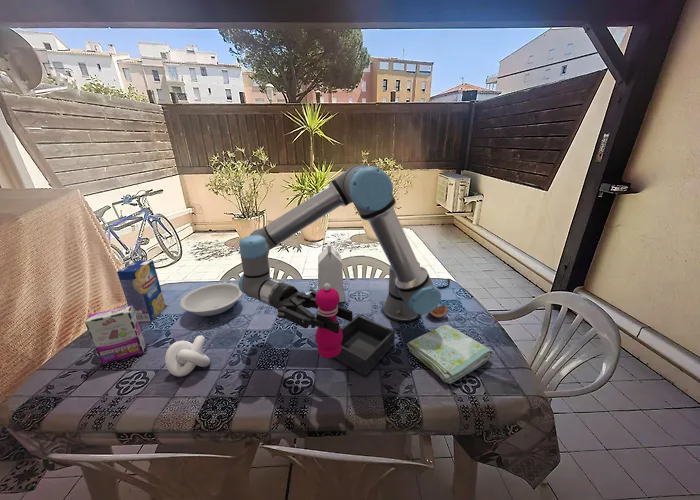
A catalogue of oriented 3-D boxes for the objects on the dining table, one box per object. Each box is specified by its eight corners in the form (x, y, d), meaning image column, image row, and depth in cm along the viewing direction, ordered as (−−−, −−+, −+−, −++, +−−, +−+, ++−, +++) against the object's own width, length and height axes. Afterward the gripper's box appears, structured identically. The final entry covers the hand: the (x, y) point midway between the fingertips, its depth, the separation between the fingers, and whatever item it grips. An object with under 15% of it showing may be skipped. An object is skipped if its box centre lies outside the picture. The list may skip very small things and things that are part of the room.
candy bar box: (146, 344, 95) (133, 304, 90) (143, 353, 91) (130, 312, 86) (105, 355, 91) (89, 313, 85) (101, 365, 86) (83, 321, 81)
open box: (358, 328, 104) (358, 315, 102) (394, 345, 95) (394, 330, 93) (327, 354, 91) (326, 339, 89) (365, 376, 82) (365, 360, 80)
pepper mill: (339, 361, 69) (337, 292, 62) (312, 357, 70) (307, 289, 63) (345, 342, 75) (344, 278, 68) (320, 339, 77) (317, 276, 70)
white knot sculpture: (183, 353, 91) (177, 331, 88) (220, 351, 92) (215, 329, 89) (164, 379, 81) (156, 355, 78) (205, 377, 81) (199, 353, 78)
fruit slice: (443, 311, 114) (444, 301, 113) (449, 321, 108) (451, 310, 106) (423, 312, 114) (424, 302, 112) (428, 321, 108) (430, 311, 106)
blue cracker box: (165, 306, 119) (153, 260, 111) (151, 320, 109) (136, 271, 101) (149, 307, 118) (135, 260, 111) (133, 322, 108) (116, 272, 100)
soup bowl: (251, 313, 114) (249, 299, 111) (186, 333, 101) (182, 318, 99) (237, 290, 132) (235, 278, 130) (181, 305, 120) (177, 292, 117)
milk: (318, 290, 132) (315, 239, 123) (341, 289, 133) (341, 238, 124) (318, 303, 121) (315, 248, 112) (344, 301, 122) (343, 247, 113)
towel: (404, 350, 92) (405, 338, 90) (447, 330, 102) (449, 319, 100) (446, 389, 77) (449, 375, 76) (492, 361, 87) (495, 348, 86)
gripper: (302, 293, 87) (364, 317, 74) (255, 321, 73) (321, 356, 60) (301, 272, 84) (364, 293, 72) (252, 297, 70) (320, 328, 58)
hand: (344, 322), depth 66 cm, fingers closed on pepper mill, 5 cm apart
